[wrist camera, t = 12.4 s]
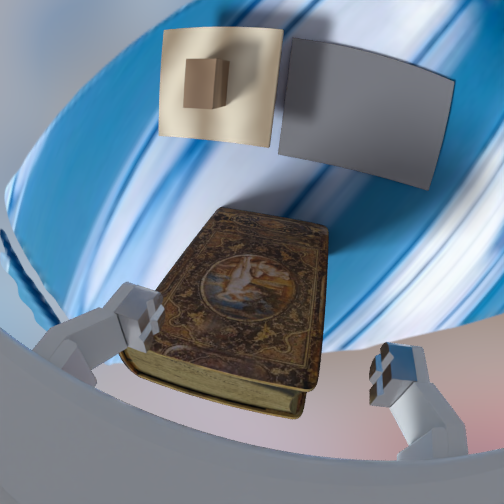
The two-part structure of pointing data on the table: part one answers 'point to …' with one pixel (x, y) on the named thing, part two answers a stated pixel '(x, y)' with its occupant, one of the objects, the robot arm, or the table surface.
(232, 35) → the board
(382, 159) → the mat
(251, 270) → the book
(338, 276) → the table surface
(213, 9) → the table surface
